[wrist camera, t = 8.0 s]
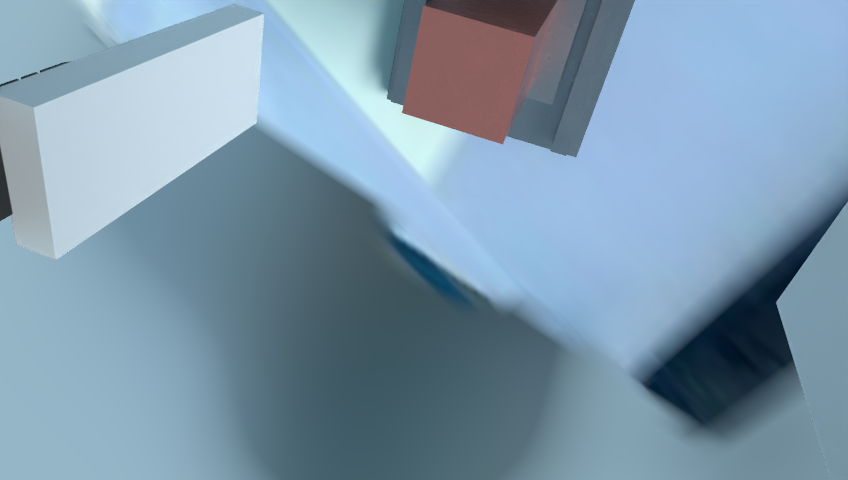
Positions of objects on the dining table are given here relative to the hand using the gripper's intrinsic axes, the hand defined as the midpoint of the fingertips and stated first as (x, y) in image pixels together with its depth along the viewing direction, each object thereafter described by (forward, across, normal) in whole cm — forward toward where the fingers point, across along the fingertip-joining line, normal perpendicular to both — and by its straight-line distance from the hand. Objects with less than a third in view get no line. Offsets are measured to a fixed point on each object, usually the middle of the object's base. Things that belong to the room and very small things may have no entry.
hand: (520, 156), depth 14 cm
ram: (+25, -4, -3) cm, 26 cm away
